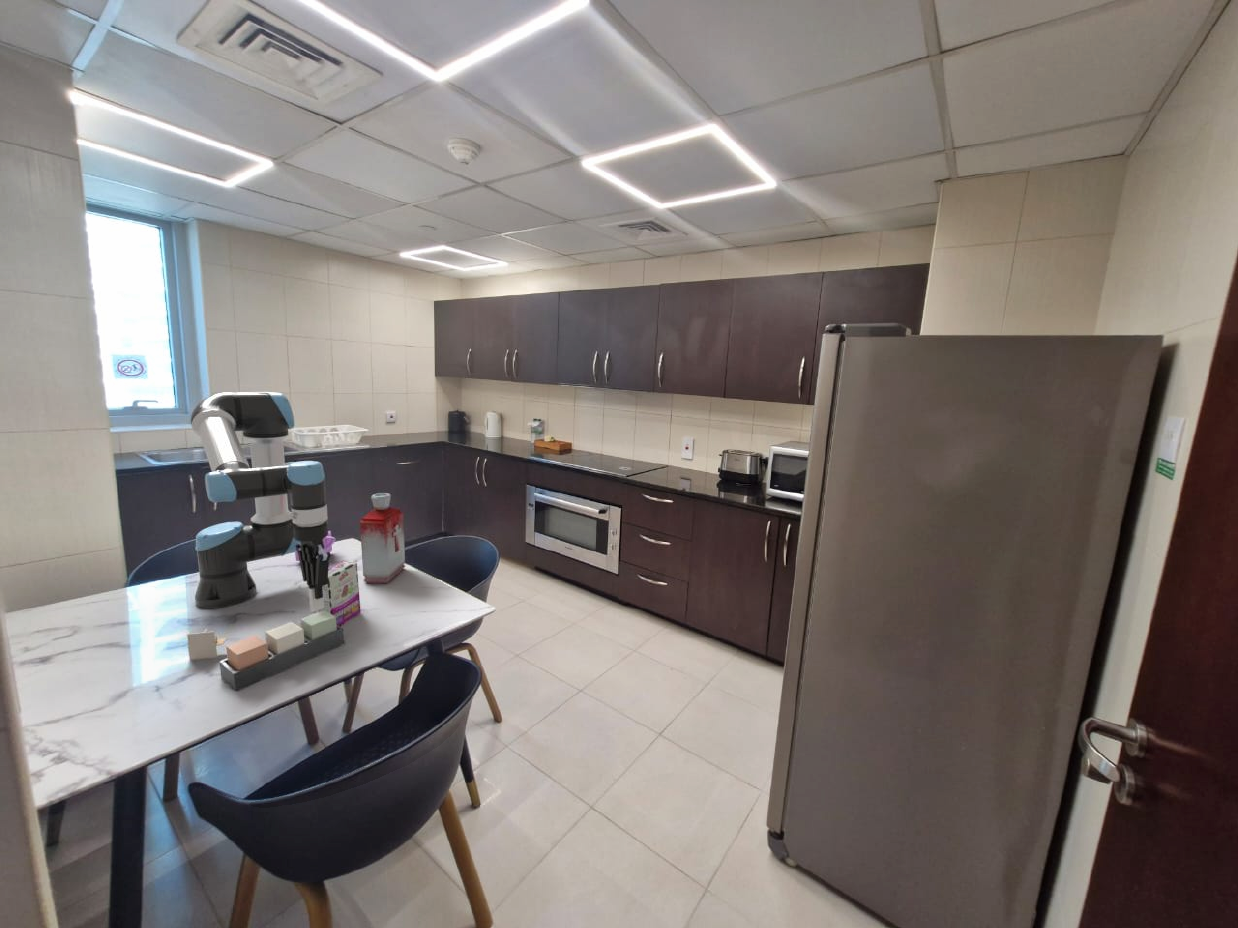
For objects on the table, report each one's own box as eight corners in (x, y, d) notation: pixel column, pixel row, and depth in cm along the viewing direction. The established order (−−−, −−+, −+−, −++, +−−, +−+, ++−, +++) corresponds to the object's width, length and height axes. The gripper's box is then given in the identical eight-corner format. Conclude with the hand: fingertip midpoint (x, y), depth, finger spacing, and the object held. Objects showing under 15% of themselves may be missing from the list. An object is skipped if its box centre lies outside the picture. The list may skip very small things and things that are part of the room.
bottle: (389, 584, 167) (385, 500, 162) (360, 583, 167) (354, 499, 162) (408, 568, 181) (405, 490, 176) (381, 567, 182) (376, 489, 176)
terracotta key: (228, 665, 115) (226, 646, 114) (257, 653, 120) (255, 635, 119) (239, 674, 112) (237, 654, 111) (269, 662, 117) (267, 643, 116)
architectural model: (196, 654, 125) (193, 627, 124) (228, 650, 127) (225, 624, 126) (189, 661, 122) (185, 634, 120) (222, 657, 124) (219, 631, 122)
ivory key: (267, 650, 122) (265, 631, 121) (293, 639, 127) (291, 621, 126) (278, 658, 118) (276, 639, 118) (304, 647, 123) (303, 629, 123)
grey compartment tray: (221, 678, 115) (219, 661, 114) (329, 634, 135) (328, 619, 135) (236, 691, 111) (233, 673, 110) (344, 643, 131) (343, 628, 130)
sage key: (301, 636, 128) (300, 618, 127) (325, 626, 133) (324, 610, 132) (313, 643, 125) (311, 625, 124) (337, 633, 130) (335, 616, 129)
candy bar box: (346, 610, 149) (343, 560, 146) (361, 613, 148) (358, 562, 145) (317, 629, 138) (313, 574, 135) (332, 631, 137) (328, 577, 134)
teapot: (287, 558, 186) (284, 531, 184) (325, 549, 197) (323, 523, 195) (303, 569, 177) (300, 540, 175) (341, 559, 188) (340, 532, 186)
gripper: (281, 521, 124) (289, 606, 128) (307, 531, 117) (315, 621, 121) (313, 514, 130) (319, 596, 134) (339, 523, 123) (345, 610, 127)
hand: (317, 608), depth 128 cm, fingers closed
